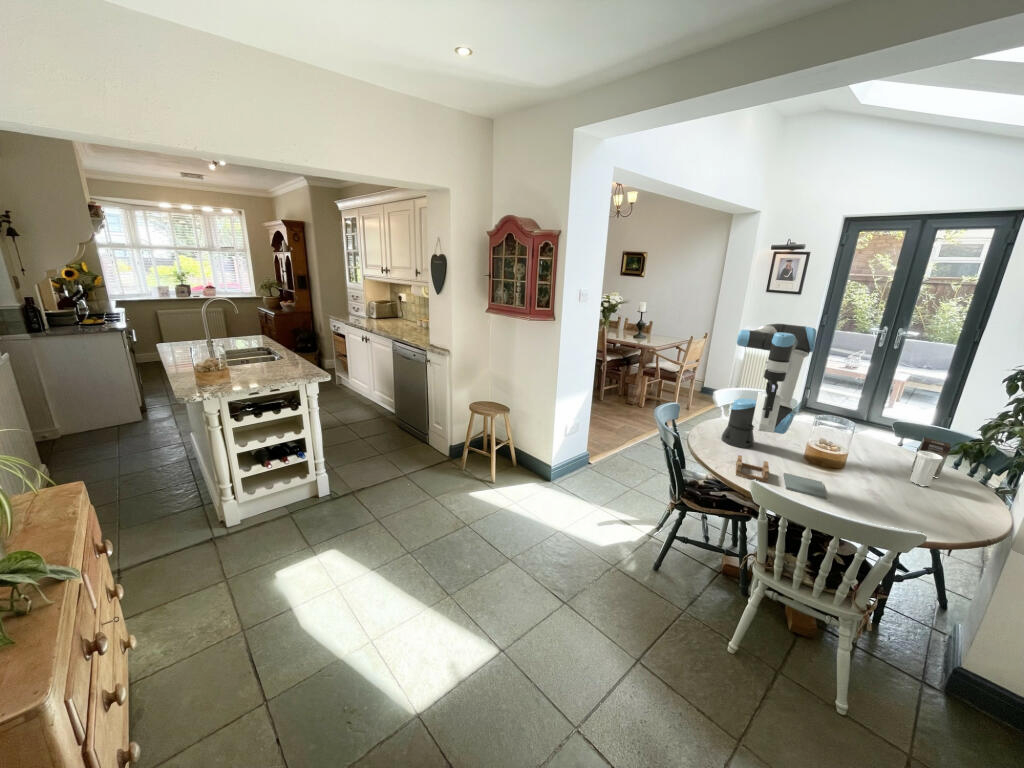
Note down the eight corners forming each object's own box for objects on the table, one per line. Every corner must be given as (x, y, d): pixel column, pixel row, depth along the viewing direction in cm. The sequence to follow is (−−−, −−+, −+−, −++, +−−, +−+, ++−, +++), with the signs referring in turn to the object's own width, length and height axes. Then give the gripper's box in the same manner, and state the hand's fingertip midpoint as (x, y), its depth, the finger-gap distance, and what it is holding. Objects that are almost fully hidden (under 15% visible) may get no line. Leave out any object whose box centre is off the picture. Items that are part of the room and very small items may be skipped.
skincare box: (773, 433, 174) (782, 398, 169) (756, 431, 175) (765, 396, 171) (766, 425, 182) (774, 392, 177) (750, 424, 183) (758, 390, 178)
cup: (925, 481, 185) (936, 452, 181) (935, 490, 178) (948, 460, 174) (902, 477, 188) (913, 449, 183) (912, 486, 180) (924, 457, 176)
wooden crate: (735, 464, 193) (738, 454, 191) (765, 471, 187) (768, 461, 186) (735, 475, 183) (737, 465, 181) (766, 483, 177) (769, 472, 176)
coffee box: (911, 471, 193) (923, 440, 189) (911, 467, 198) (922, 436, 193) (938, 479, 188) (951, 447, 183) (937, 474, 192) (950, 443, 187)
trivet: (783, 474, 185) (783, 472, 185) (821, 483, 179) (821, 481, 179) (785, 488, 173) (786, 486, 173) (826, 499, 167) (827, 496, 167)
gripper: (764, 363, 182) (753, 411, 188) (766, 374, 163) (754, 427, 170) (784, 366, 178) (772, 414, 185) (789, 378, 160) (775, 431, 167)
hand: (763, 420), depth 177 cm, fingers closed on skincare box, 9 cm apart
